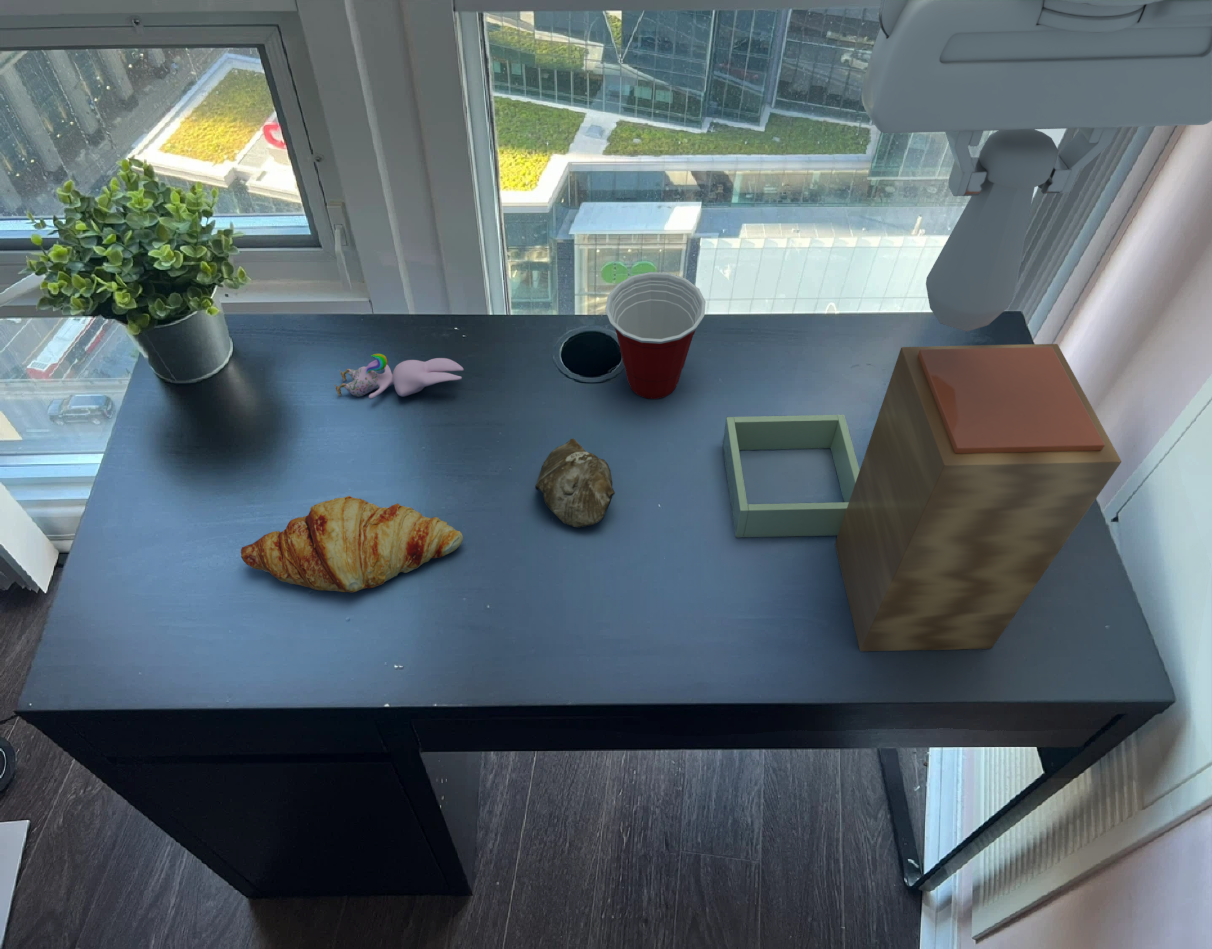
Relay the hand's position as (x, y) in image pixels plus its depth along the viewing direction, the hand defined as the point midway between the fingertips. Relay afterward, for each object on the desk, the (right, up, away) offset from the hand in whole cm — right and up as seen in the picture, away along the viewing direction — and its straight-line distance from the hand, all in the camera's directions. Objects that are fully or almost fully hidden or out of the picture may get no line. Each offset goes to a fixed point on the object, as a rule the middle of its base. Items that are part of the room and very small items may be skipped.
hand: (1007, 190), depth 52 cm
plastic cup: (-20, -7, +47) cm, 51 cm away
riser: (+4, -29, +28) cm, 40 cm away
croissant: (-50, -26, +31) cm, 64 cm away
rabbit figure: (-49, -8, +47) cm, 68 cm away
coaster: (+4, -12, +8) cm, 15 cm away
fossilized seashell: (-28, -20, +36) cm, 50 cm away
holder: (-6, -19, +36) cm, 42 cm away
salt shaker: (0, -6, +7) cm, 10 cm away
